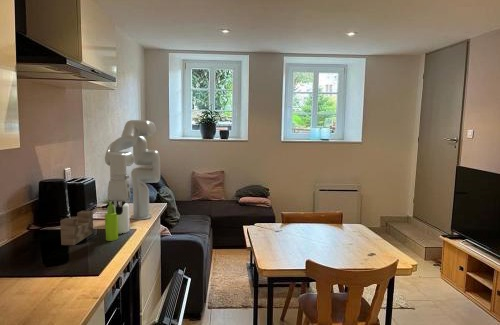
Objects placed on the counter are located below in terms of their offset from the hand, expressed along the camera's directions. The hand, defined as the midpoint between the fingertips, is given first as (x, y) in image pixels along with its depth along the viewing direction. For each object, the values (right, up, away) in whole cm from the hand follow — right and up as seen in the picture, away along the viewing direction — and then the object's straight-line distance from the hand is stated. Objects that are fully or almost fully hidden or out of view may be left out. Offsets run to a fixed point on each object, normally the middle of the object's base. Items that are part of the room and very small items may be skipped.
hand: (119, 214), depth 180 cm
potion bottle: (-4, -12, +14) cm, 19 cm away
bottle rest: (-22, -13, +2) cm, 25 cm away
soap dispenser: (-5, -13, +1) cm, 14 cm away
